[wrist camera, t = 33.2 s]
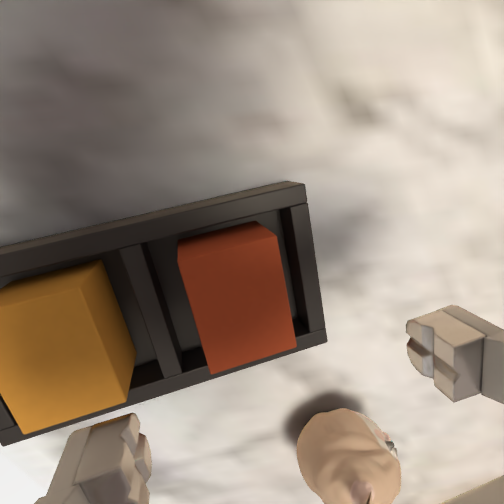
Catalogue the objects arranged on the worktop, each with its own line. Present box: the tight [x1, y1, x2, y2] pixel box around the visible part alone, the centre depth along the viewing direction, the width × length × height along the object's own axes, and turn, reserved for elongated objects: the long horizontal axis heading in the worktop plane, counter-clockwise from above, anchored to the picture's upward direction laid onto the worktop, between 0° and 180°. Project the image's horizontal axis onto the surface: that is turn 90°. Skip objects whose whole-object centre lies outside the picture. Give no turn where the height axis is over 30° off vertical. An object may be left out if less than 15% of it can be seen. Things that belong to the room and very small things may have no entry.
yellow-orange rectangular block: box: [0, 259, 137, 434], centre depth 15 cm, size 6×4×4 cm
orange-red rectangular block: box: [177, 221, 297, 374], centre depth 16 cm, size 6×4×4 cm
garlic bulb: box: [297, 408, 401, 504], centre depth 20 cm, size 7×6×8 cm
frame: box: [0, 181, 327, 446], centre depth 17 cm, size 10×18×3 cm, turn 102°
